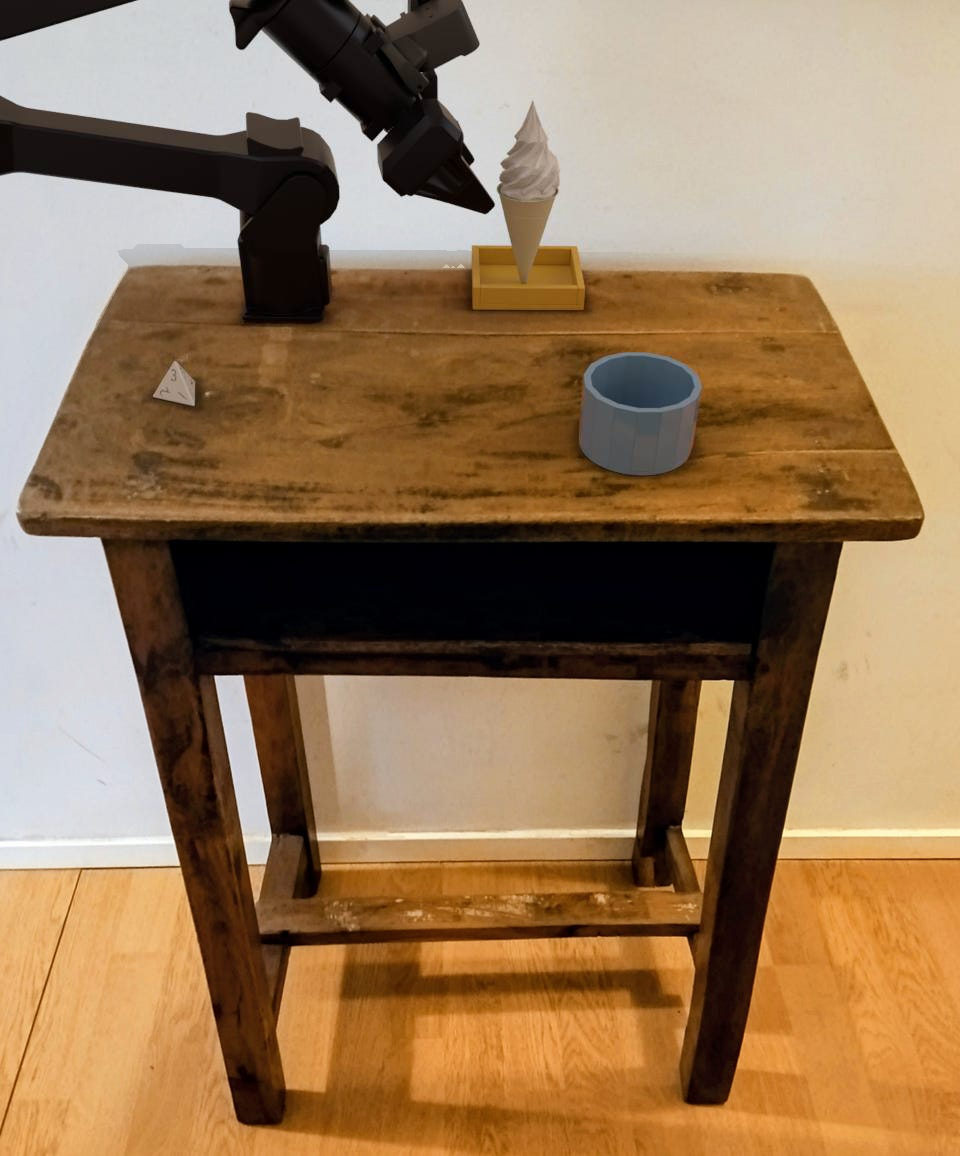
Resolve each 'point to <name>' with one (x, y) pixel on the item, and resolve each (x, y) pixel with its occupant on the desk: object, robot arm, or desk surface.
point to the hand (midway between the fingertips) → (480, 185)
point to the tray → (547, 285)
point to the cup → (638, 413)
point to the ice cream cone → (528, 190)
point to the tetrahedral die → (177, 386)
